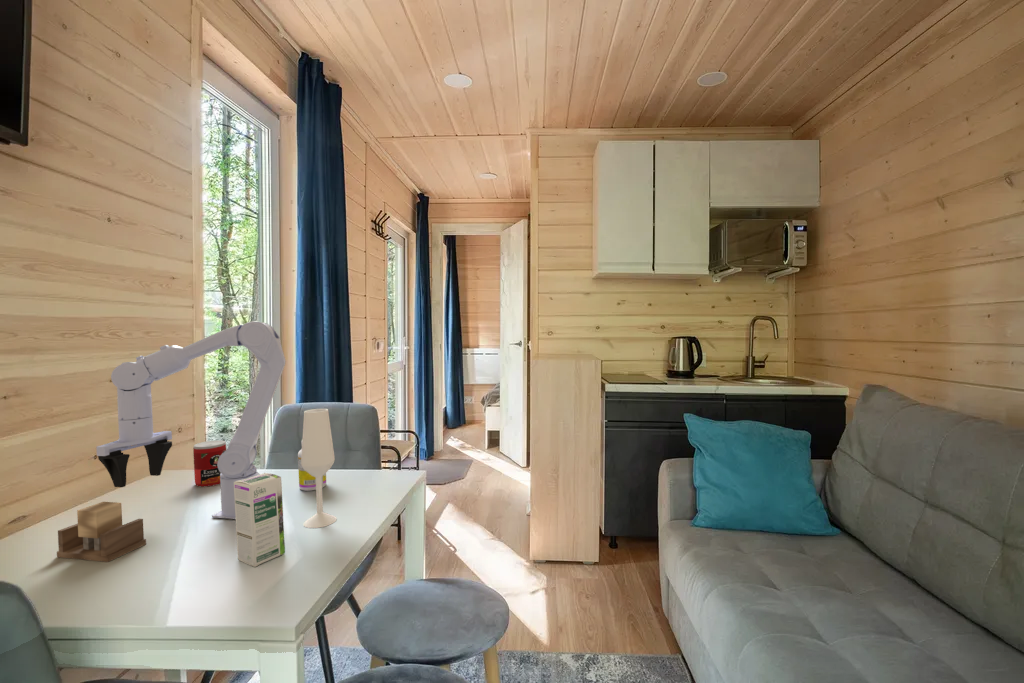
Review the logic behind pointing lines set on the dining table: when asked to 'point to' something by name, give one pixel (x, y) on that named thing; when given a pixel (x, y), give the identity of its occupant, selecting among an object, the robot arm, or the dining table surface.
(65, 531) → the stand
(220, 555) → the dining table surface
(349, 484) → the dining table surface
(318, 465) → the champagne flute
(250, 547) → the syrup box
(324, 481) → the supplement bottle
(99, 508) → the light wooden block
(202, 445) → the canned food
